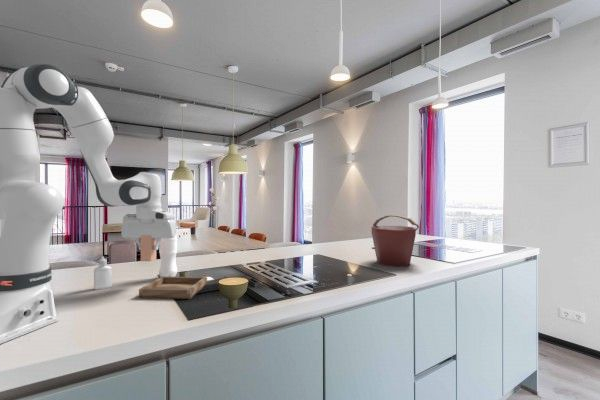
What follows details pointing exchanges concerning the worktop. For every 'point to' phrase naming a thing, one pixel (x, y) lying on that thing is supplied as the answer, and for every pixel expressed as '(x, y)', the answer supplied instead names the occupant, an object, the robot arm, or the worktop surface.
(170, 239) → the water bottle
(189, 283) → the tray
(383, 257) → the bucket
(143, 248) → the shaker
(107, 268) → the eye dropper bottle
